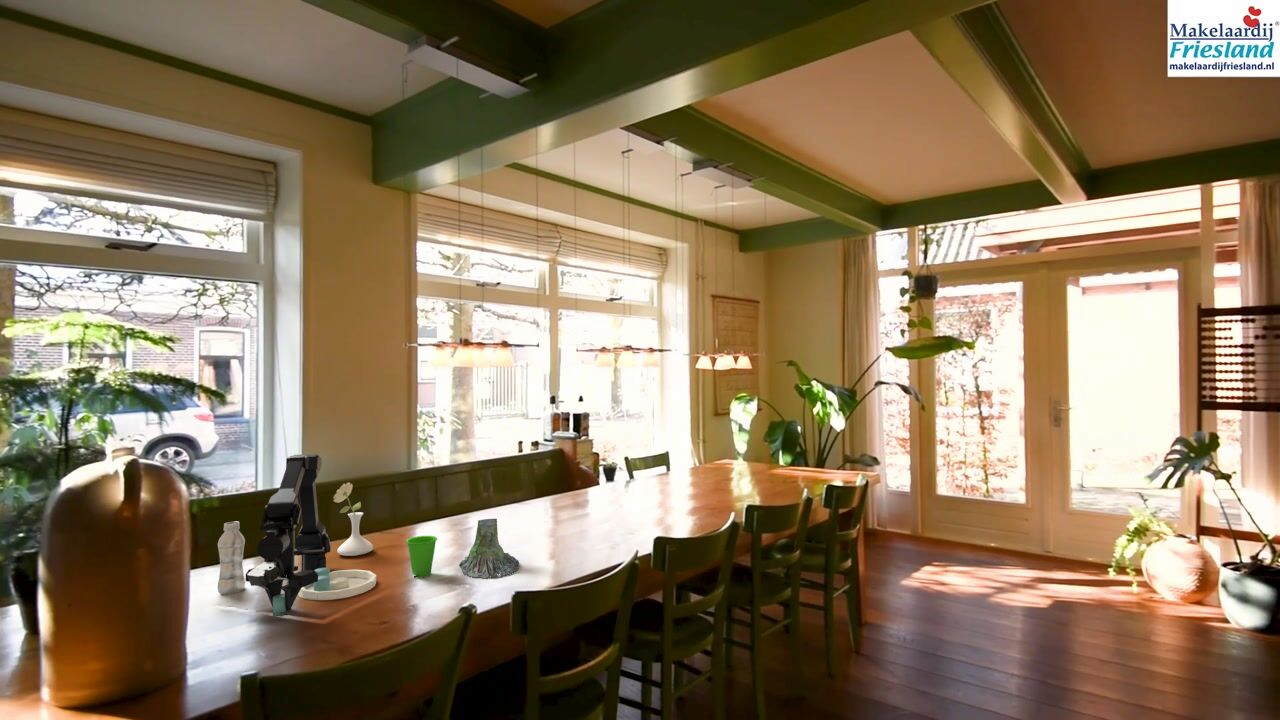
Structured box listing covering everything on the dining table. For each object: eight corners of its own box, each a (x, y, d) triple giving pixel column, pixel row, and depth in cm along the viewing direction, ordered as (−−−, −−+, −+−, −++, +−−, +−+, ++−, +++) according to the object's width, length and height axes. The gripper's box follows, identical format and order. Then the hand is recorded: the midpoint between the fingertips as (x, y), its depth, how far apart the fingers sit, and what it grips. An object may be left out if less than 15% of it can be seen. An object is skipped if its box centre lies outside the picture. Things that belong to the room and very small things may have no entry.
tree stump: (461, 584, 188) (457, 522, 192) (458, 580, 206) (455, 524, 211) (523, 574, 194) (518, 514, 198) (515, 571, 212) (510, 516, 217)
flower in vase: (361, 547, 226) (362, 477, 227) (380, 552, 220) (380, 480, 220) (325, 556, 216) (326, 482, 216) (343, 562, 209) (344, 485, 210)
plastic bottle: (250, 591, 181) (251, 521, 182) (228, 599, 175) (229, 526, 175) (234, 589, 183) (234, 519, 184) (211, 596, 177) (212, 524, 178)
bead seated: (310, 587, 182) (310, 571, 182) (321, 582, 186) (321, 567, 186) (321, 588, 181) (321, 572, 181) (332, 583, 184) (332, 568, 184)
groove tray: (281, 599, 175) (281, 588, 175) (336, 576, 194) (336, 567, 194) (339, 607, 169) (339, 595, 169) (390, 583, 188) (390, 573, 188)
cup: (427, 580, 190) (427, 543, 190) (400, 579, 191) (400, 542, 192) (442, 571, 198) (442, 536, 199) (416, 570, 200) (416, 534, 200)
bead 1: (269, 615, 163) (269, 597, 163) (282, 609, 167) (282, 592, 167) (281, 617, 162) (281, 599, 162) (294, 611, 166) (294, 594, 166)
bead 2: (321, 591, 178) (321, 575, 178) (333, 592, 177) (333, 576, 177) (310, 595, 174) (310, 579, 175) (321, 597, 173) (321, 580, 173)
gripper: (226, 554, 160) (225, 616, 160) (283, 560, 154) (283, 625, 154) (264, 542, 171) (264, 601, 170) (319, 548, 165) (319, 609, 165)
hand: (281, 609), depth 165 cm, fingers closed on bead 1, 4 cm apart
